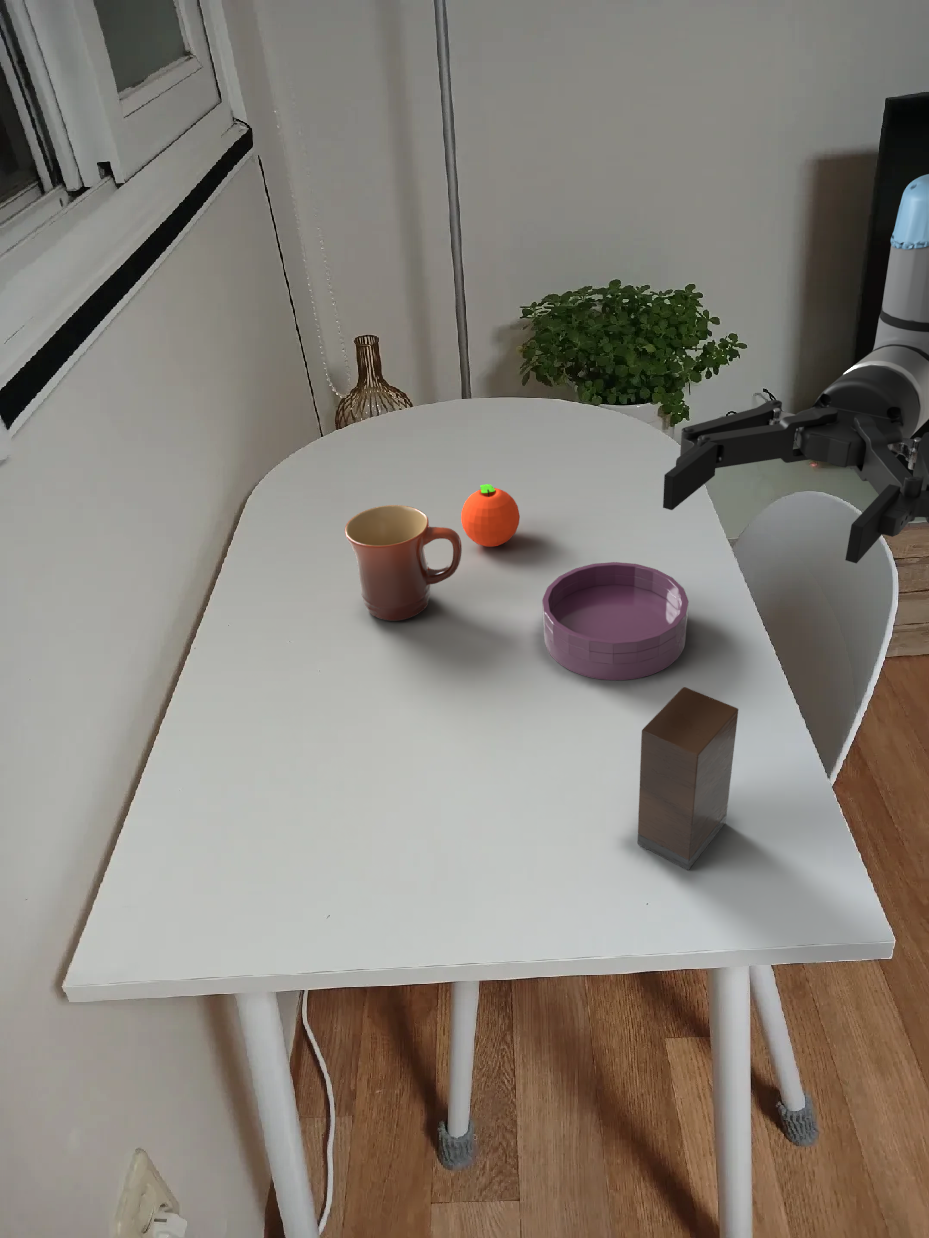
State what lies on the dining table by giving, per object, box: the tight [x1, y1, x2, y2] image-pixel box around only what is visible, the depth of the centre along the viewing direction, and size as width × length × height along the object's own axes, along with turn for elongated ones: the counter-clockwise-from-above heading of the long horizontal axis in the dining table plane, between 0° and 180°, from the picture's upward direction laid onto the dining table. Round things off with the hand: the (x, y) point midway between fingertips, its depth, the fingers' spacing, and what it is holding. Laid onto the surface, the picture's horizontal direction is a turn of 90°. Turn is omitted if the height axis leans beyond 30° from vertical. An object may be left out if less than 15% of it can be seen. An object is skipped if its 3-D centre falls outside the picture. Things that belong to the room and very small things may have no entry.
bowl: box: [541, 561, 690, 681], centre depth 96 cm, size 14×14×4 cm
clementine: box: [460, 483, 521, 548], centre depth 113 cm, size 8×7×7 cm
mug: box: [344, 504, 463, 622], centre depth 102 cm, size 12×9×10 cm
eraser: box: [637, 686, 739, 871], centre depth 72 cm, size 4×6×12 cm
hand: (755, 517), depth 65 cm, fingers open, 13 cm apart
